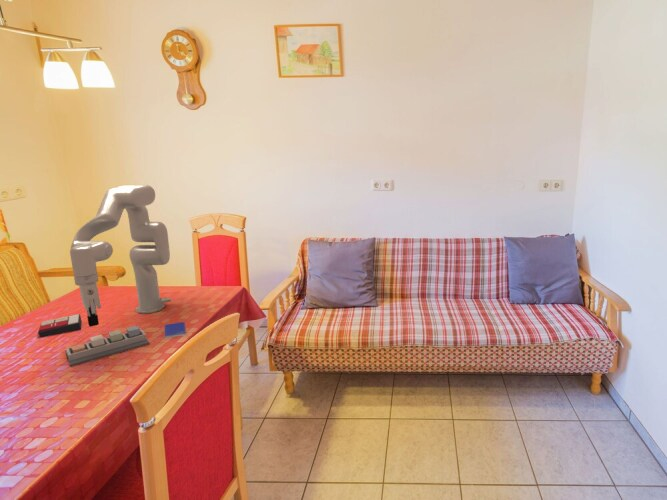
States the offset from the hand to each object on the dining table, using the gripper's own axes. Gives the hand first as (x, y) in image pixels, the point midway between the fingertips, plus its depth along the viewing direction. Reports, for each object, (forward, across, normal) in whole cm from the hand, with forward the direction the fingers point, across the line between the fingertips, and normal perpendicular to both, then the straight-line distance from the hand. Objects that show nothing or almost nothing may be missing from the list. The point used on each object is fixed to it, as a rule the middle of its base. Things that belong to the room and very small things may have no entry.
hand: (93, 325), depth 162 cm
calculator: (+11, +34, +8) cm, 37 cm away
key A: (+8, 0, -7) cm, 10 cm away
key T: (+8, 0, -13) cm, 15 cm away
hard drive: (+11, -1, -29) cm, 31 cm away
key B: (+10, 0, +6) cm, 11 cm away
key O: (+8, 0, 0) cm, 8 cm away
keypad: (+11, 0, -4) cm, 11 cm away
